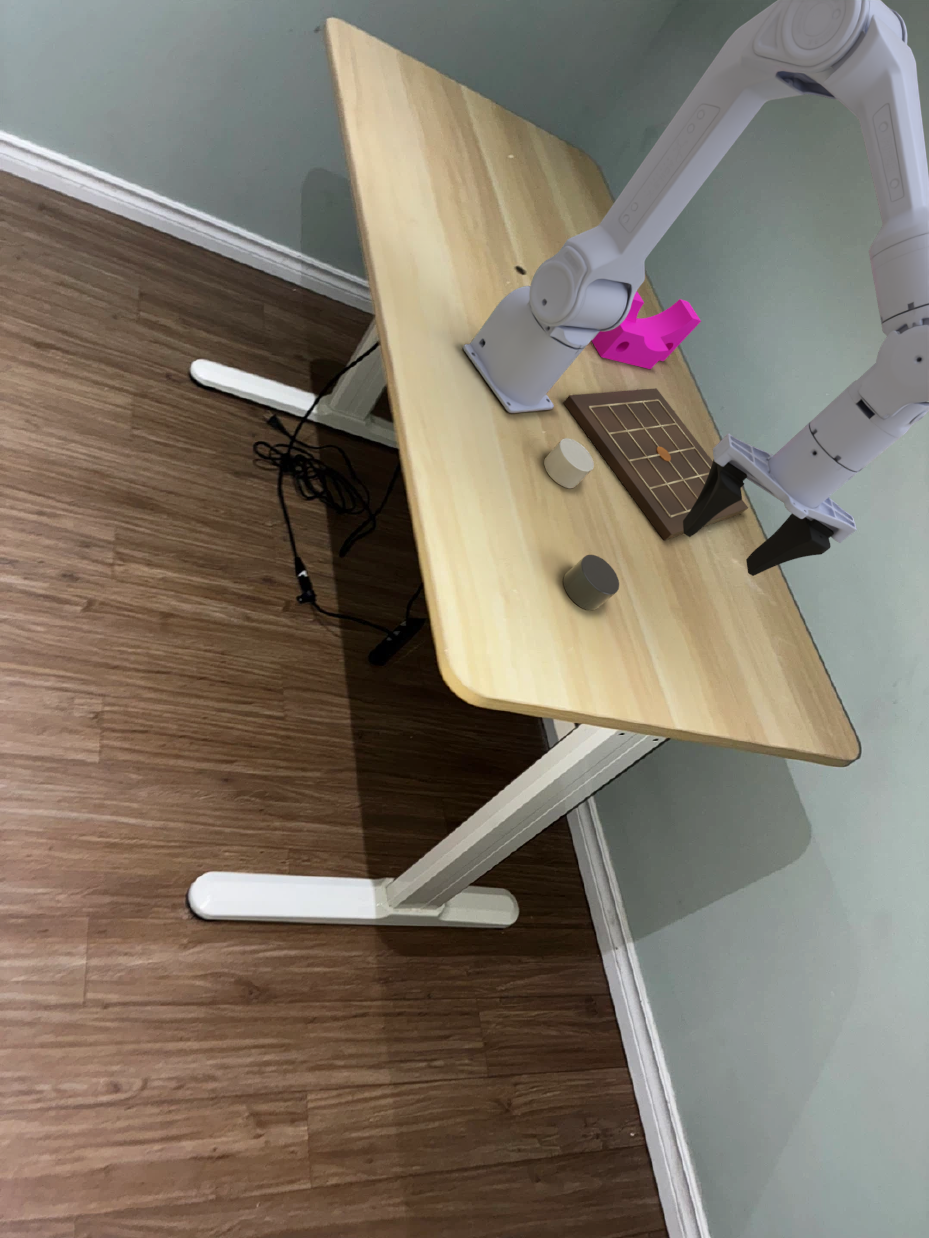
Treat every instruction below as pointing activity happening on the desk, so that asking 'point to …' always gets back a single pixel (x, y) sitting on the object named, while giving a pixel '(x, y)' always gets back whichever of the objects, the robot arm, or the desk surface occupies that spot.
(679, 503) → the board
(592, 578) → the black stone
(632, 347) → the toy block
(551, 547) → the desk surface
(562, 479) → the white stone
